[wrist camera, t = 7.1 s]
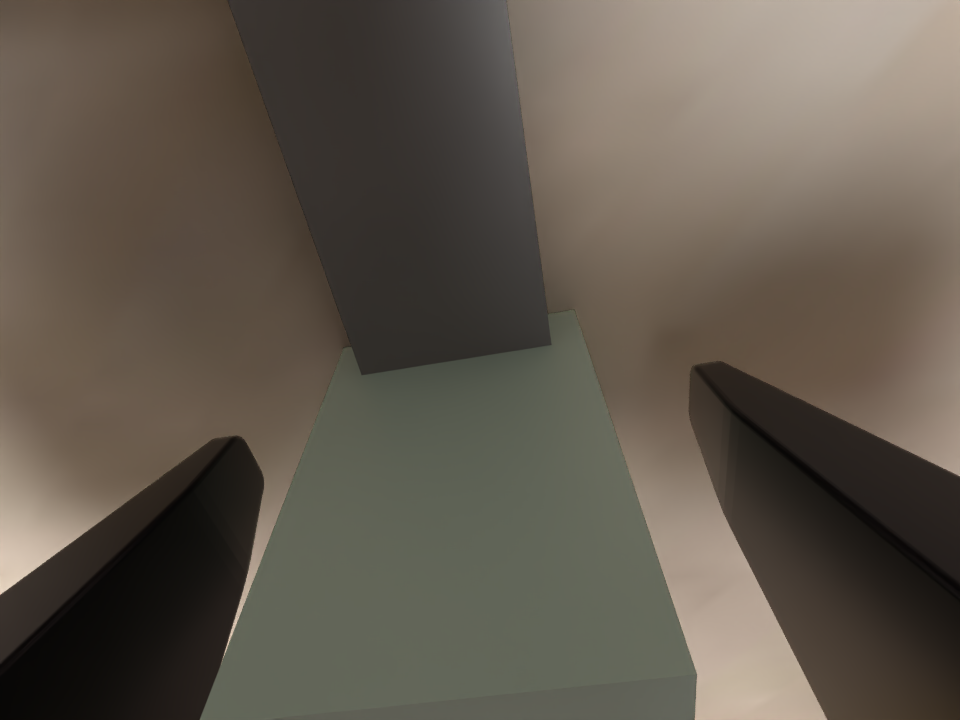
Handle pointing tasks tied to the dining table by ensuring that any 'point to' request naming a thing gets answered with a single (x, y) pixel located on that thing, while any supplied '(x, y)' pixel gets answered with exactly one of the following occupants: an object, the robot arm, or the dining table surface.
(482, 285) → the grey piece
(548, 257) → the dining table surface
